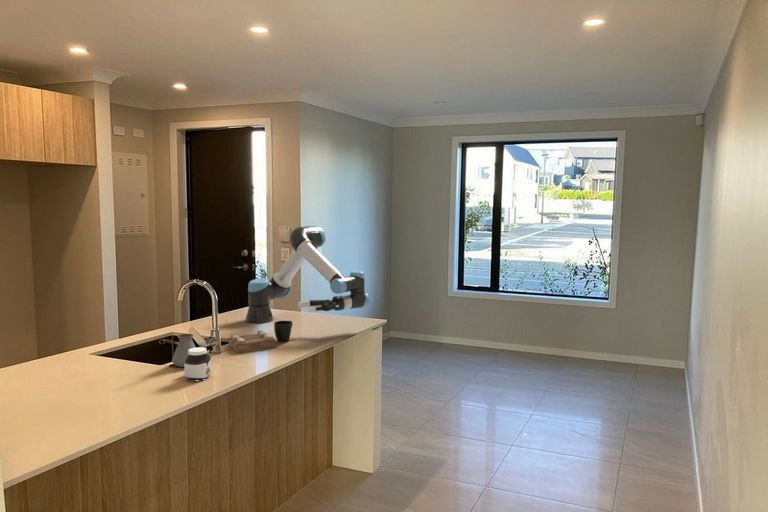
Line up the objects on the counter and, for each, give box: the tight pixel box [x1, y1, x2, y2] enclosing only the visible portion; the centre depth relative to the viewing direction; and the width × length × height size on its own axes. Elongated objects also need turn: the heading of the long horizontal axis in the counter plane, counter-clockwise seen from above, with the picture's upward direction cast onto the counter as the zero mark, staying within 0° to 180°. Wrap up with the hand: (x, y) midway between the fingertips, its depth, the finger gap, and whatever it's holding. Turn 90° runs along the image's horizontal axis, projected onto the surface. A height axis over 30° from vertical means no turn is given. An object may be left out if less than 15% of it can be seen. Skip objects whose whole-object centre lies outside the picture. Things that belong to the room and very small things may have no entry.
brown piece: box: [227, 330, 277, 354], centre depth 273 cm, size 15×18×6 cm
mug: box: [273, 320, 293, 343], centre depth 285 cm, size 8×12×10 cm
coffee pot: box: [159, 333, 197, 368], centre depth 239 cm, size 21×12×15 cm, turn 163°
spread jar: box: [183, 346, 212, 381], centre depth 228 cm, size 12×11×12 cm
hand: (303, 307), depth 289 cm, fingers open, 13 cm apart
